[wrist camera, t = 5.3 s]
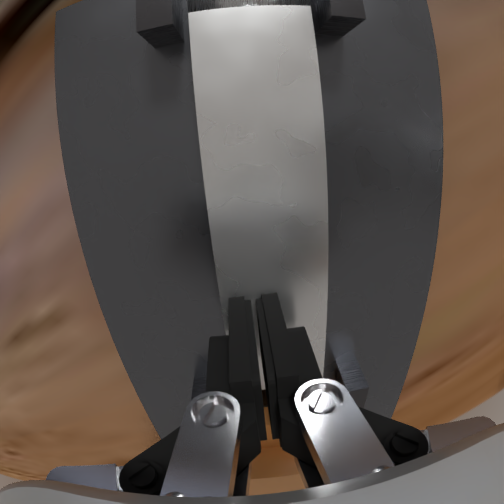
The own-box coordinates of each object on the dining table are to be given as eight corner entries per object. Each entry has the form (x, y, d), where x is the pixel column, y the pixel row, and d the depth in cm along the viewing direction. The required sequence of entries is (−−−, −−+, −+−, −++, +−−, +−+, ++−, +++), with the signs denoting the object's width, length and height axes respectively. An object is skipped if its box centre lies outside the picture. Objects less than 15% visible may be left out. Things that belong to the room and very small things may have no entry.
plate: (406, -3, 8) (450, -28, 5) (378, 415, 18) (395, 454, 14) (73, 20, 8) (28, -2, 5) (173, 438, 17) (167, 480, 14)
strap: (301, -4, 7) (307, -16, 6) (318, 367, 13) (323, 383, 12) (191, 3, 7) (186, -9, 6) (236, 377, 13) (236, 393, 12)
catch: (330, 377, 13) (352, 444, 10) (322, 432, 15) (336, 488, 12) (223, 389, 13) (222, 461, 10) (236, 442, 15) (238, 500, 12)
